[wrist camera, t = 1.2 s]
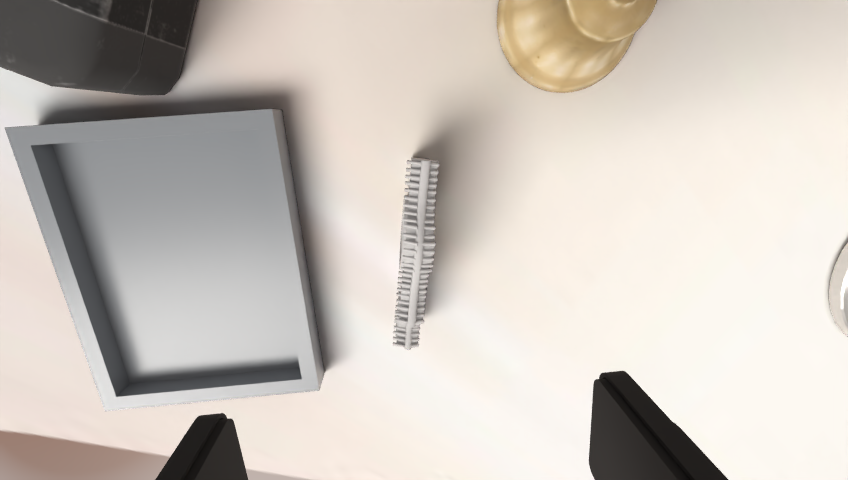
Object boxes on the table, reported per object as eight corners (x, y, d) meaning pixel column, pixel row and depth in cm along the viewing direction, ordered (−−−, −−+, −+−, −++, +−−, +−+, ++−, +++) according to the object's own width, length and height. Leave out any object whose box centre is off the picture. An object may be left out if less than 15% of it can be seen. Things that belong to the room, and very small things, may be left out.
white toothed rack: (418, 326, 28) (422, 377, 23) (392, 325, 28) (390, 376, 23) (434, 153, 25) (444, 163, 19) (405, 151, 25) (407, 160, 19)
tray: (282, 109, 24) (271, 108, 22) (324, 372, 29) (319, 390, 27) (36, 127, 23) (4, 127, 21) (124, 391, 28) (105, 411, 26)
